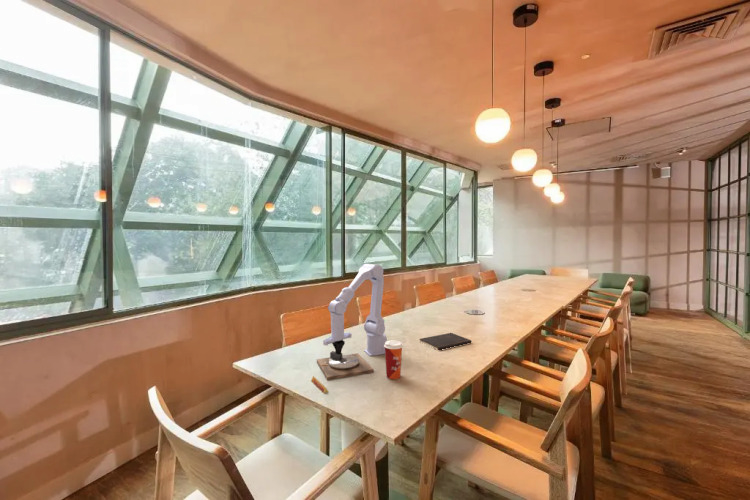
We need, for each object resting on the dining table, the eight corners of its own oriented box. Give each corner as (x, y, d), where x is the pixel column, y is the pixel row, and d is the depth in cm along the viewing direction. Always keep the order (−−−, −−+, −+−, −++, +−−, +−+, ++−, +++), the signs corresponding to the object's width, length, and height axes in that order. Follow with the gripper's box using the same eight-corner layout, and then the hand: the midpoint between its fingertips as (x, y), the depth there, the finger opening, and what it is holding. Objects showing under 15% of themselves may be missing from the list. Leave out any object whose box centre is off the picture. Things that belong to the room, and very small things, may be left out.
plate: (357, 355, 153) (357, 352, 153) (373, 372, 134) (373, 368, 134) (316, 361, 145) (316, 358, 145) (327, 380, 127) (327, 376, 127)
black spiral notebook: (419, 343, 173) (419, 338, 173) (451, 336, 184) (451, 332, 184) (438, 352, 159) (438, 347, 159) (471, 344, 170) (471, 340, 170)
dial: (340, 355, 149) (340, 347, 149) (364, 361, 142) (364, 352, 142) (322, 365, 138) (321, 356, 138) (347, 372, 131) (347, 362, 131)
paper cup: (397, 382, 125) (397, 347, 124) (380, 377, 129) (380, 343, 128) (406, 375, 131) (406, 341, 131) (389, 370, 136) (390, 338, 135)
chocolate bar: (316, 380, 127) (316, 375, 127) (329, 392, 117) (329, 386, 117) (310, 382, 126) (310, 376, 126) (322, 394, 116) (322, 388, 116)
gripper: (344, 321, 150) (345, 350, 151) (318, 328, 140) (319, 359, 141) (354, 324, 145) (354, 353, 146) (328, 332, 135) (329, 363, 136)
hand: (338, 356), depth 143 cm, fingers closed, pressing on dial
